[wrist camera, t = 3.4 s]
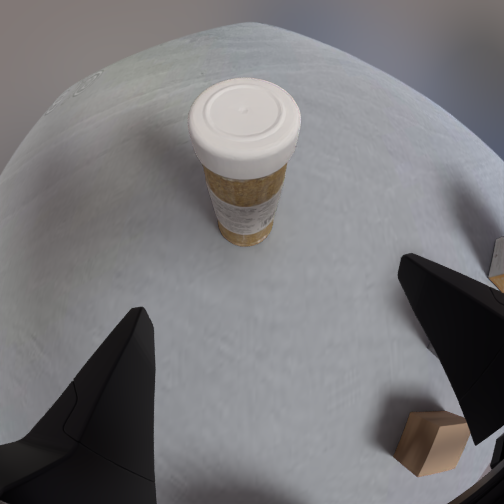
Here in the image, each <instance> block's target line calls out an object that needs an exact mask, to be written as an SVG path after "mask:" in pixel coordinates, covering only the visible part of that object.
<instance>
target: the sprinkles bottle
mask: <svg viewBox="0 0 504 504" xmlns="http://www.w3.org/2000/svg"><path fill="white" fill-rule="evenodd" d="M300 125H301V115H300V111H299V108H298V105H297V104H296V102H295V100H294V99H293V98H292V96H291V95H290V94H289V93H287V92H286V91H285V90H284V89H282V88H281V87H279V86H277V85H275V84H273V83H271V82H268V81H265V80H261V79H255V78H235V79H229V80H225V81H222V82H219V83H217V84H214V85H213V86H211V87H209V88H208V89H206V90H205V91H203V92H202V93H201V94H200V95H199V96H198V97H197V98H196V100H195V101H194V102H193V104H192V106H191V108H190V111H189V114H188V129H189V133H190V138H191V141H192V145H193V148H194V151H195V154H196V156H197V157H198V159H199V161H200V162H201V163H202V165H203V167H204V172H205V176H206V184H207V187H208V191H209V194H210V197H211V201H212V204H213V207H214V211H215V214H216V216H217V218H218V226H219V229H220V231H221V233H222V235H223V236H224V237H225V238H226V239H227V240H228V241H229V242H231V243H233V244H235V245H238V246H241V247H242V246H253V245H256V244H258V243H260V242H262V241H263V240H264V239H265V238H266V237H267V236H268V234H269V233H270V231H271V229H272V225H273V218H274V216H275V213H276V209H277V206H278V202H279V199H280V195H281V191H282V187H283V183H284V179H285V172H286V166H287V162H288V161H289V159H290V158H291V157H292V155H293V153H294V150H295V147H296V143H297V140H298V135H299V131H300Z"/></svg>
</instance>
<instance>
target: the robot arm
mask: <svg viewBox="0 0 504 504" xmlns="http://www.w3.org/2000/svg"><path fill="white" fill-rule="evenodd" d="M398 279H399V281H400V283H401V286H402V288H403V290H404V292H405V294H406V296H407V298H408V300H409V303H410V305H411V307H412V309H413V311H414V313H415V315H416V317H417V319H418V320H419V322H420V324H421V326H422V328H423V329H424V331H425V333H426V335H427V337H428V339H429V341H430V342H431V344H432V346H433V348H434V350H435V352H436V354H437V356H438V358H439V360H440V362H441V364H442V366H443V368H444V370H445V373H446V375H447V377H448V379H449V381H450V383H451V386H452V388H453V390H454V392H455V395H456V397H457V399H458V401H459V405H460V407H461V409H462V412H463V414H464V417H465V420H466V422H467V425H468V428H469V430H470V433H471V436H472V439H473V442H474V444H475V446H476V445H478V444H479V443H481V442H482V441H483V440H485V439H486V438H488V437H489V436H490V435H492V434H493V433H494V432H496V431H497V430H498V429H500V428H501V427H502V426H503V425H504V293H502V292H500V291H498V290H496V289H494V288H492V287H489V286H487V285H485V284H483V283H481V282H479V281H476V280H474V279H472V278H470V277H468V276H465V275H463V274H461V273H459V272H456V271H454V270H452V269H449V268H447V267H445V266H442V265H440V264H438V263H435V262H433V261H431V260H428V259H426V258H423V257H421V256H418V255H416V254H413V253H409V254H405V255H403V256H402V257H401V261H400V265H399V270H398ZM155 370H156V369H155V346H154V327H153V324H152V322H151V320H150V318H149V316H148V314H147V312H146V310H145V308H144V307H135V308H132V309H131V310H130V311H129V312H128V313H127V314H126V315H125V316H124V318H123V319H122V320H121V321H120V322H119V324H118V325H117V326H116V327H115V328H114V329H113V331H112V332H111V333H110V334H109V335H108V337H107V338H106V339H105V340H104V342H103V343H102V344H101V345H100V346H99V348H98V349H97V350H96V351H95V353H94V354H93V355H92V356H91V358H90V359H89V360H88V361H87V363H86V364H85V365H84V366H83V368H82V369H81V370H80V371H79V373H78V374H77V375H76V377H75V378H74V379H73V381H72V382H71V383H70V384H69V386H68V387H67V388H66V390H65V391H64V392H63V393H62V395H61V396H60V397H59V398H58V400H57V401H56V402H55V403H54V404H53V406H52V407H51V408H50V409H49V410H48V411H47V413H46V414H45V415H44V416H43V417H42V418H41V419H40V421H39V422H38V423H37V424H36V425H35V426H34V427H33V429H32V430H31V431H30V432H29V433H28V434H27V435H26V436H25V437H24V438H22V439H20V440H18V441H16V442H12V443H8V444H4V445H0V504H157V502H156V488H155V483H154V482H155V472H154V393H155ZM490 467H491V469H492V470H491V471H490V472H489V473H488V474H487V475H485V476H484V477H483V478H482V479H481V480H479V481H478V482H477V483H475V484H474V485H473V486H472V487H470V488H469V489H468V490H466V491H465V492H464V493H462V494H461V495H459V496H458V497H457V498H455V499H454V500H452V501H451V502H449V503H448V504H504V433H503V434H502V435H501V436H500V437H499V438H497V439H496V444H495V448H494V453H493V457H492V460H491V464H490Z"/></svg>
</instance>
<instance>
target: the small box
mask: <svg viewBox="0 0 504 504" xmlns="http://www.w3.org/2000/svg"><path fill="white" fill-rule="evenodd" d="M488 278H489V279H490V280H491V281H492V282H493V283H494V284H495V285H496V286H497V287H498V288H499V290H500V291H501V292H502V293H504V236H503V237H501V238H499V239H496V242H495V248H494V253H493V258H492V263H491V267H490V272H489V276H488Z"/></svg>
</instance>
